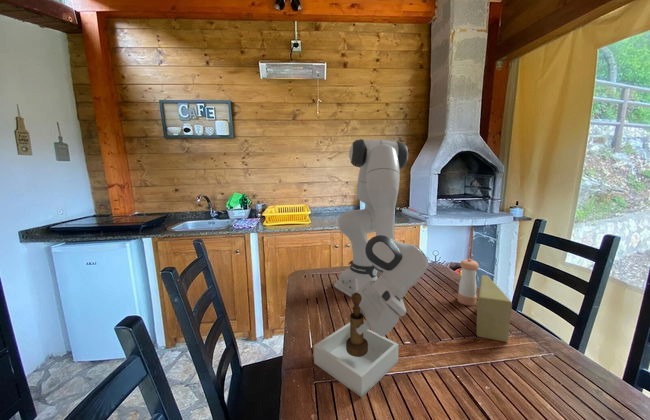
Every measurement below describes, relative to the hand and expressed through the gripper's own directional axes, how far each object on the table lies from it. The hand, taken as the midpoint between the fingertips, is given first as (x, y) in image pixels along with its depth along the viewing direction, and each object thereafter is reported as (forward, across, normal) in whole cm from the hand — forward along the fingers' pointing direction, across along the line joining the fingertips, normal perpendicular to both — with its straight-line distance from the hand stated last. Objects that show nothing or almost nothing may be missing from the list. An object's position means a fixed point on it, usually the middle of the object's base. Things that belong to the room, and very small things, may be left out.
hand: (354, 326), depth 82 cm
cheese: (-30, -9, +47) cm, 57 cm away
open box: (+8, 0, +9) cm, 12 cm away
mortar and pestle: (+5, 0, +6) cm, 8 cm away
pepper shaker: (-33, -25, +50) cm, 65 cm away
